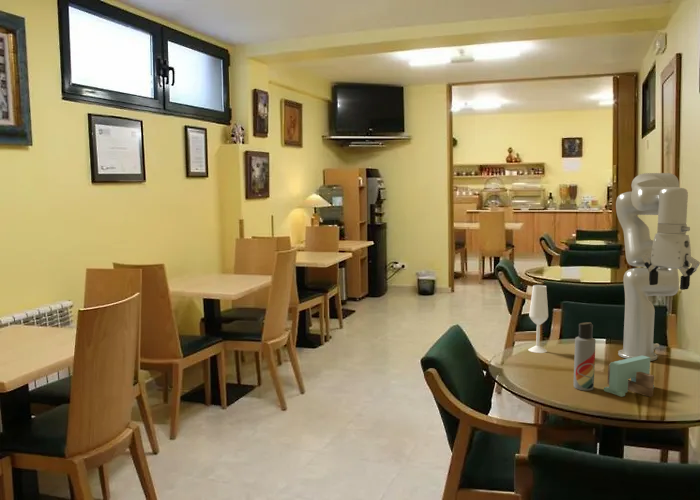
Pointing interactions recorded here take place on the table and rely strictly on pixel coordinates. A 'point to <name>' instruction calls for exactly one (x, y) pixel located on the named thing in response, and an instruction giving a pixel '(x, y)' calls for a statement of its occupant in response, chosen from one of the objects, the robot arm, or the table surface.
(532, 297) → the champagne flute
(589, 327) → the lotion bottle
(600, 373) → the table surface
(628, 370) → the teal notched bracket
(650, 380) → the brown u-shaped block
